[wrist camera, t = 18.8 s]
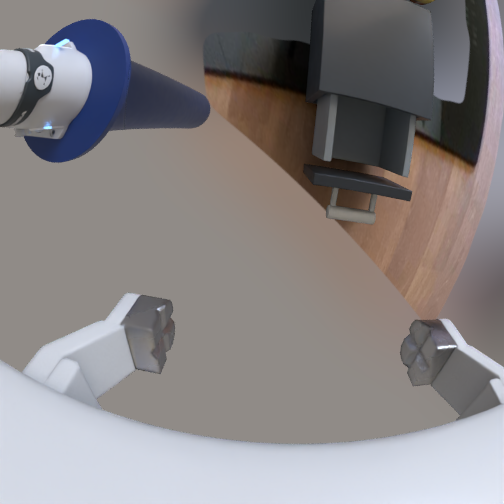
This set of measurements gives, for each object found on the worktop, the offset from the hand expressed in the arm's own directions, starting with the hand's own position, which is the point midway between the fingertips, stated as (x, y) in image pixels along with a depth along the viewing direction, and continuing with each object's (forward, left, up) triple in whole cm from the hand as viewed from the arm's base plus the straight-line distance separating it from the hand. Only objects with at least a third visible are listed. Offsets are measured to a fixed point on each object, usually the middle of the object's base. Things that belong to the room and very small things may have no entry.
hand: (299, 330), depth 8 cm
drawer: (+9, +6, -30) cm, 32 cm away
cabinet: (+9, +18, -31) cm, 37 cm away
